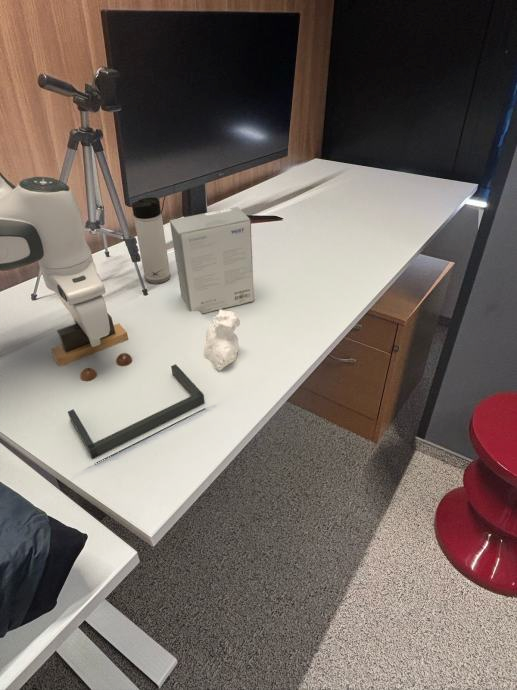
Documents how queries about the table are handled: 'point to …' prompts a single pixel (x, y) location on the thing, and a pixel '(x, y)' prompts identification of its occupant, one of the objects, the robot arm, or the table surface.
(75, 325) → the brush
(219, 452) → the table surface
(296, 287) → the table surface
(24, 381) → the table surface
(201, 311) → the hard drive box
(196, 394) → the catcher
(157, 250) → the travel mug
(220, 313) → the bust
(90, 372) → the brown chestnut
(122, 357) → the brown ball
